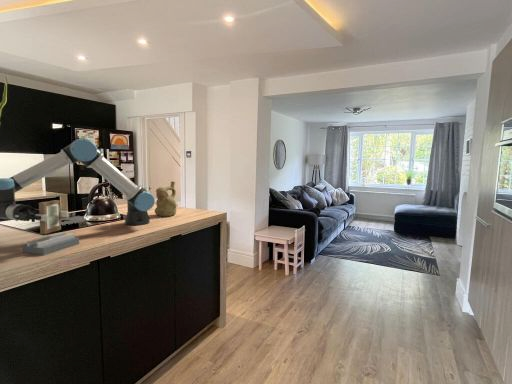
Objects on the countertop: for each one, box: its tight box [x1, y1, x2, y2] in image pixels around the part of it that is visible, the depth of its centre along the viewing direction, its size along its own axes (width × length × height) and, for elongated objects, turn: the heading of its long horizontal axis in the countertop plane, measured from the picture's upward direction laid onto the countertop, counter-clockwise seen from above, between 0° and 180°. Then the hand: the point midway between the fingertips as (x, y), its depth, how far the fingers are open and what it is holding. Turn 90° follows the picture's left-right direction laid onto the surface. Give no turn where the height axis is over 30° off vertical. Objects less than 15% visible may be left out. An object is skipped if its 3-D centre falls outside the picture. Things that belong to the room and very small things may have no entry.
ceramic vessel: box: [154, 180, 178, 217], centre depth 217 cm, size 17×20×25 cm
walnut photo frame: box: [38, 199, 62, 235], centre depth 133 cm, size 9×3×14 cm, turn 173°
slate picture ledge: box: [22, 231, 80, 256], centre depth 134 cm, size 18×12×5 cm, turn 165°
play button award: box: [61, 215, 87, 226], centre depth 189 cm, size 16×2×20 cm
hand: (58, 216), depth 132 cm, fingers closed on walnut photo frame, 9 cm apart
